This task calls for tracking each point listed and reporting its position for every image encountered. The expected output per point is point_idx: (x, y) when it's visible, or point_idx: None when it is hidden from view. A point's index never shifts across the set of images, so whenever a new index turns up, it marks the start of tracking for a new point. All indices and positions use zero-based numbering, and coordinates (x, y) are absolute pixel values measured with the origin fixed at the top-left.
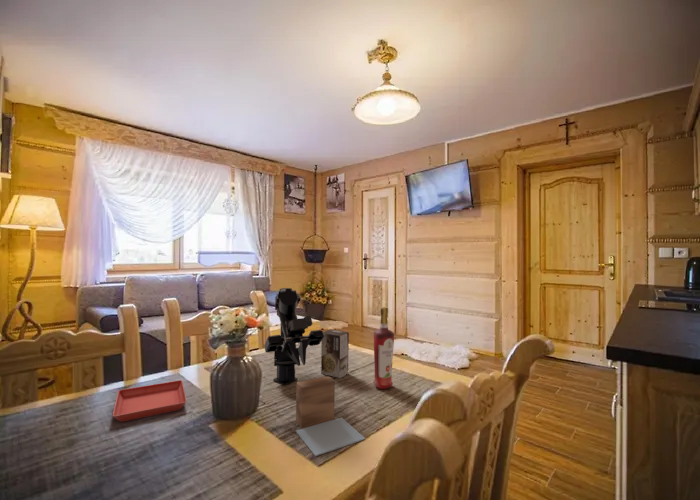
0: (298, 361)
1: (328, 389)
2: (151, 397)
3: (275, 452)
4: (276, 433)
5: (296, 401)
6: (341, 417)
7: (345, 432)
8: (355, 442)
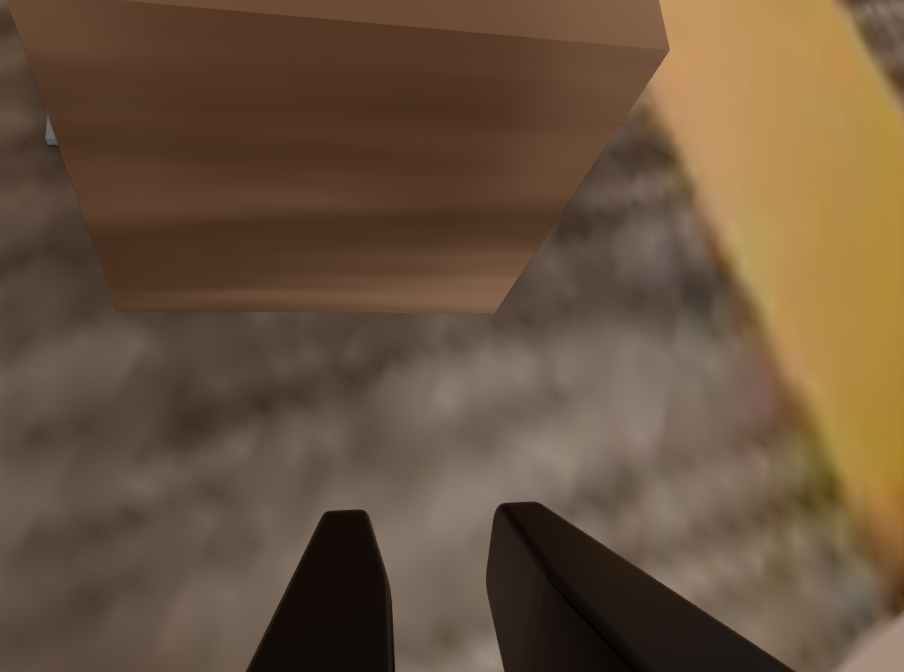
0: (574, 540)
1: None
2: None
3: (720, 38)
4: (687, 226)
5: (560, 205)
6: (49, 136)
7: None
8: None
